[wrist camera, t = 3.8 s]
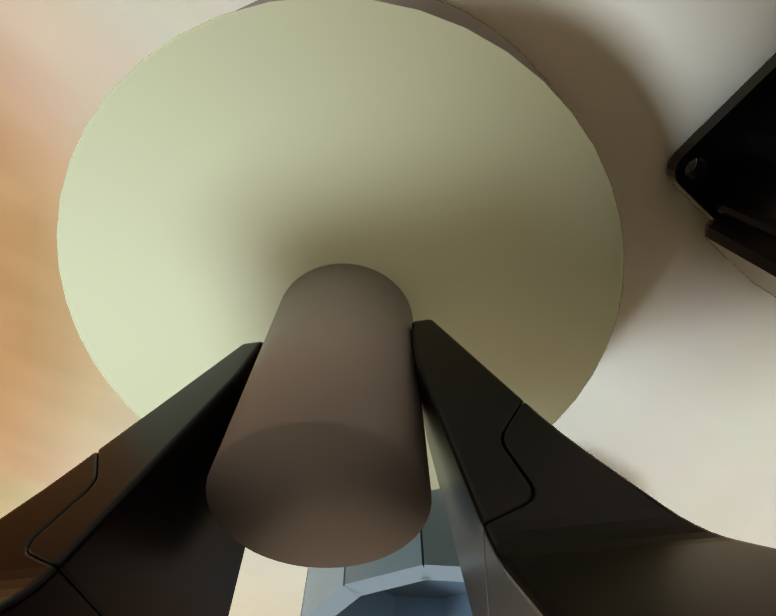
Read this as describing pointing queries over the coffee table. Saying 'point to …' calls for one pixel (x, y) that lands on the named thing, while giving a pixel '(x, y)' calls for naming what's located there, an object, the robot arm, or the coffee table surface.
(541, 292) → the lid
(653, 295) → the coffee table surface
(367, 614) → the bowl
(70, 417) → the coffee table surface
